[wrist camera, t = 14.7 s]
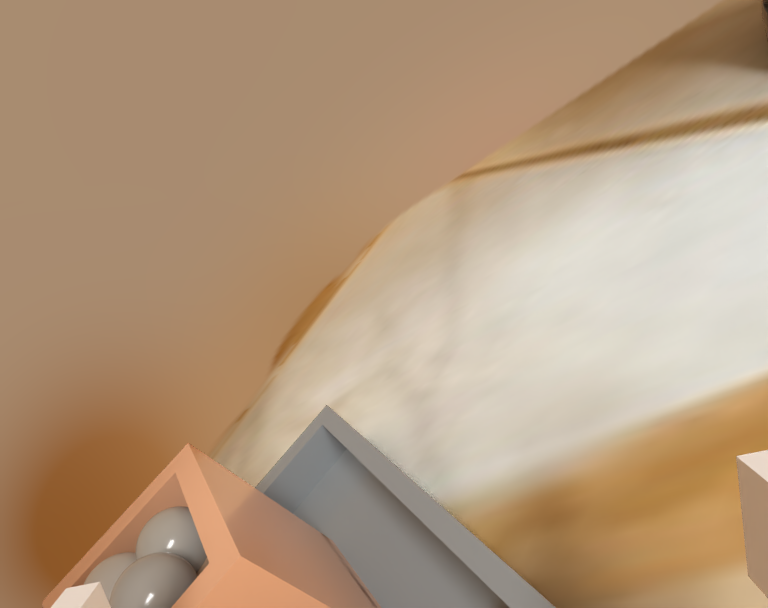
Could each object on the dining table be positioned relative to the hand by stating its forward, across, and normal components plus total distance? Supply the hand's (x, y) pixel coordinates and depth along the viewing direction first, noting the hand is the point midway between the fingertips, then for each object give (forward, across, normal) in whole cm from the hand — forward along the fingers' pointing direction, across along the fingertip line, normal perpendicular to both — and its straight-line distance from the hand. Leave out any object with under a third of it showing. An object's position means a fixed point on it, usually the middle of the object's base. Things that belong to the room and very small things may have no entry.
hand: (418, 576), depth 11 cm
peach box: (+10, -7, -12) cm, 17 cm away
